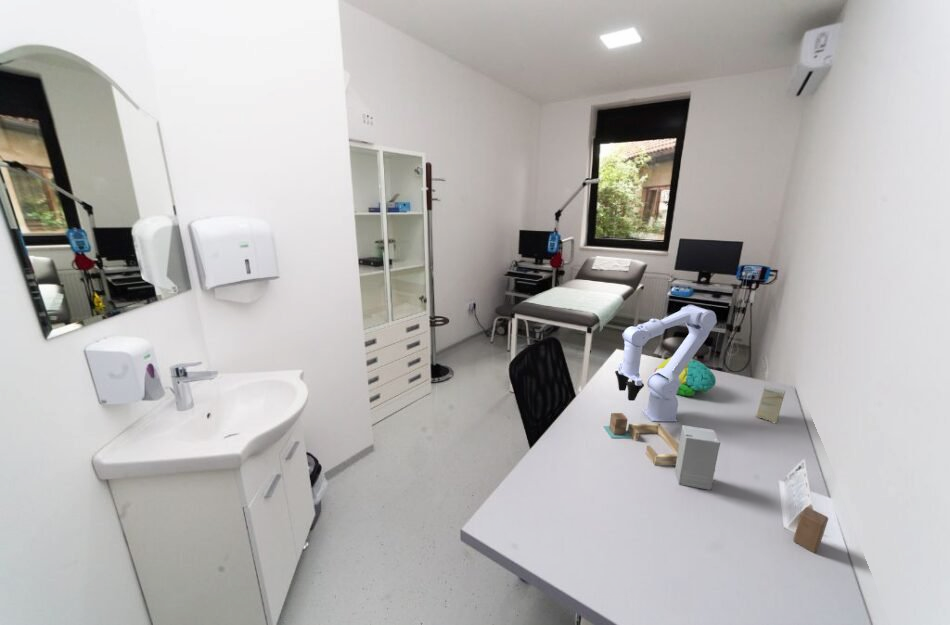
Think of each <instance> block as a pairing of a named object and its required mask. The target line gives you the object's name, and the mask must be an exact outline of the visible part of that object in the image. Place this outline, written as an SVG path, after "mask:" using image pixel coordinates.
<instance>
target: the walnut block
mask: <svg viewBox="0 0 950 625" xmlns="http://www.w3.org/2000/svg"><path fill="white" fill-rule="evenodd" d="M609 418H610V420H609V425H608V426H609V429H610V430H611V432H612V433H613V434H614V435H625V434H626V431H627V428H628V427H627V426H628V417H626V416H625V415H624V413H622V412H612V413H610V417H609Z"/></svg>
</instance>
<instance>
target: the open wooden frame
mask: <svg viewBox="0 0 950 625" xmlns="http://www.w3.org/2000/svg"><path fill="white" fill-rule="evenodd" d="M627 426H628V427H627V432H628V433H629V435H630V436H631V437H632V439H633V440H634V441H635V442H637V441H638V442H639V439H640V438H639V437H640V434H657V435H658V436H659V437H660V438H661V439H662V440H663V441H664V442H665V443H666V444H667V445H668V446H669V447H670V449H671V450H673V452H674V453H672V454H669V453H667V454H663V453H661V454H658V453H657V452H656V451H655V450H654V448H653V447H652V446H651V445H646V449H645V455H646V456H647V458H648V459H649V460H650V461H651V462H652V464H653V465H654V466H676V461H677V455H678V449H679V442H678V441H677V440H676V439H675V438H674V437H673V436H672V435H671V434H670V432H668V430H667V429H666V428H664V427H663V425H661V424H660V423H628V425H627Z"/></svg>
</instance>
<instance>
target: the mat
mask: <svg viewBox="0 0 950 625" xmlns="http://www.w3.org/2000/svg"><path fill="white" fill-rule="evenodd" d="M609 426H610V425H603V428H604V430H605V432H606V433H607V434H608V436H609V437H610V438H611V439H633V437H632V436H631V435H630V434H629V432H628V430H626V434H625V435H614V434H613V433H612V432H611V430H610V429H609Z"/></svg>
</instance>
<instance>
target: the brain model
mask: <svg viewBox="0 0 950 625" xmlns="http://www.w3.org/2000/svg"><path fill="white" fill-rule="evenodd" d="M671 358H672V356H671V357H668V358H666V359H665V360H664V361H662V362H660V364H659V365H658V366H657V367H655V370H654V371H653V372H654V373H655V371H656V370H657V369H662V368H664V367H665V366H666V365H667V363H668V362H669V361H670V359H671ZM665 379H667V380H668V381H669V379H668V378H665ZM679 380H680V383H681V385H680V387H679V388H678V392H677V394H676V395H680V396H683V397H690V396H694V395H695V394H696V392H705V393H706V392H708V391H710V390H711V389H713V387H715V385H716V381H717V380H716V376H715V374H714V373H713V371H711V370H710V368H709V367H708V366H706V365H705V364H703V363H702V362H701V361H698V360H695V359H693V358H692V359H691V360H690V362H689V363H688V364H687V366H686V367H685V368H684V370H683V371H682V373H681V374H680V375H679Z"/></svg>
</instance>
